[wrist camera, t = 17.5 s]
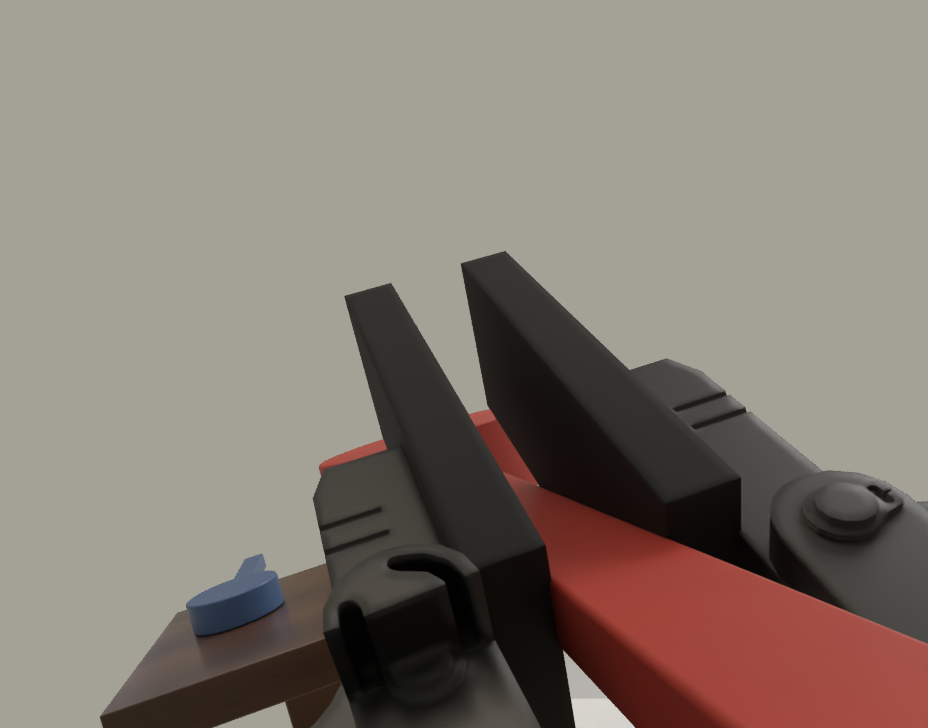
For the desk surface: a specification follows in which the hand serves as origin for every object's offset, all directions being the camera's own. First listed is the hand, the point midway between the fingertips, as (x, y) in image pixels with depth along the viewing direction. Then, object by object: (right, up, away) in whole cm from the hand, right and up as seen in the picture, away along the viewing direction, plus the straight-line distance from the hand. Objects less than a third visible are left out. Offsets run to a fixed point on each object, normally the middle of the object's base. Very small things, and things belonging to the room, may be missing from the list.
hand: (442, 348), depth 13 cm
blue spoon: (-9, -10, +22) cm, 26 cm away
